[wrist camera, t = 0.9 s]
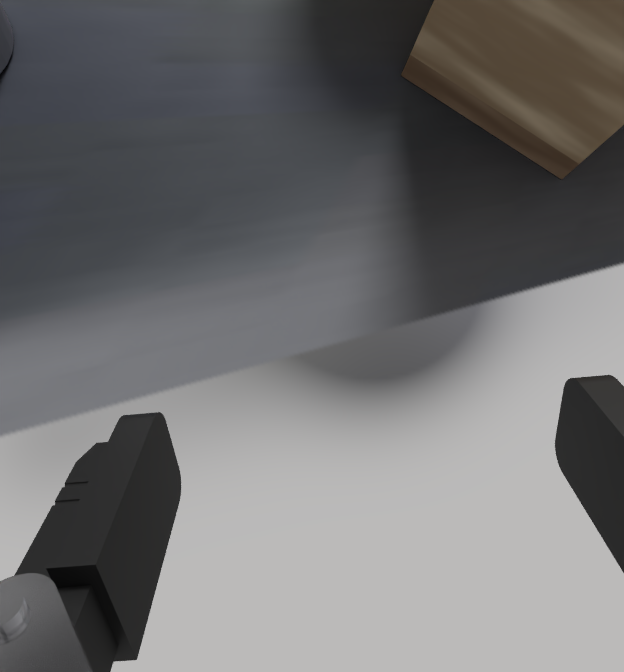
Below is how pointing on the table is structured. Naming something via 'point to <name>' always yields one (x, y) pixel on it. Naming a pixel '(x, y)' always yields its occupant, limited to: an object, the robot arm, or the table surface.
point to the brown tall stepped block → (528, 72)
